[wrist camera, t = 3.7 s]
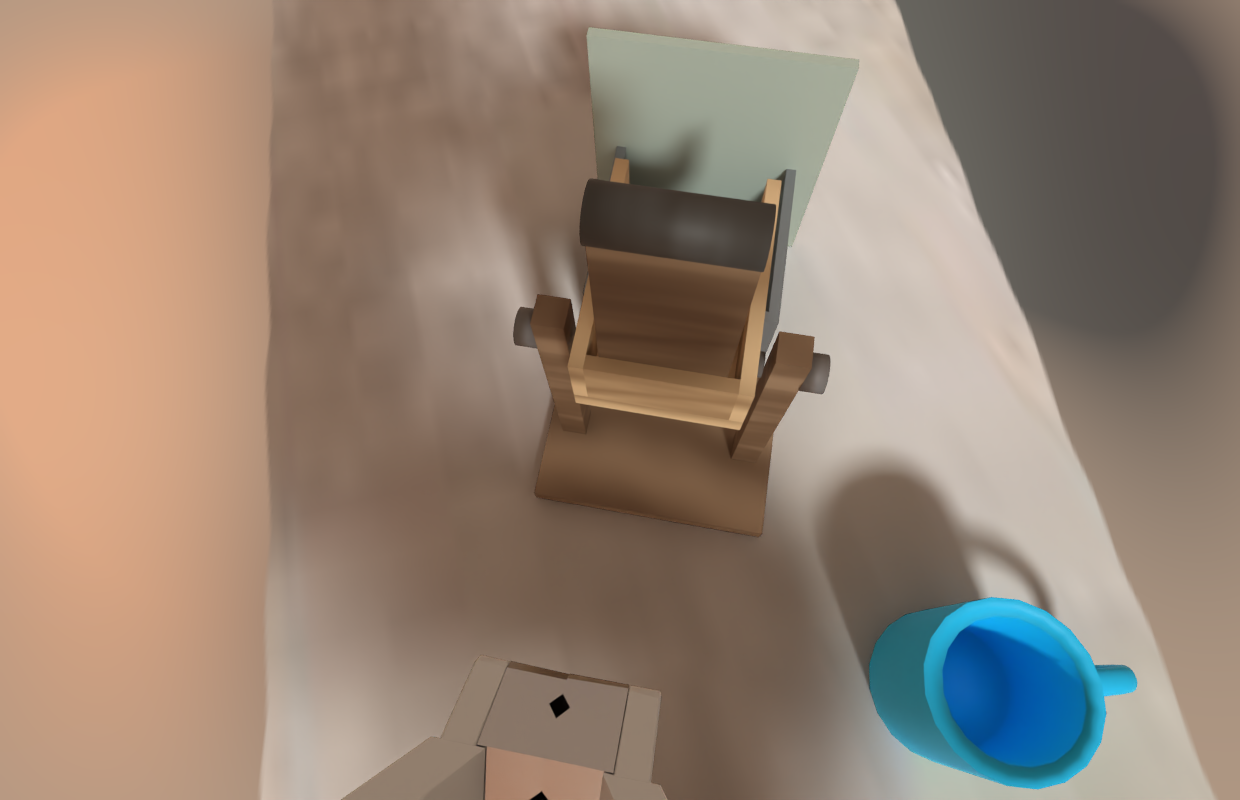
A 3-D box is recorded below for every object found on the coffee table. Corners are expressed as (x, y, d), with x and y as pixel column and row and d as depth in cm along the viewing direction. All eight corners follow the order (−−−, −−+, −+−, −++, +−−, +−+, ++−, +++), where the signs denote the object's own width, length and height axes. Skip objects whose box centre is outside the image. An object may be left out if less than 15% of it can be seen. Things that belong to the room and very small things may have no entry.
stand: (760, 537, 43) (827, 468, 28) (535, 496, 44) (483, 410, 29) (777, 388, 46) (845, 256, 31) (568, 354, 47) (537, 211, 32)
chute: (751, 441, 31) (843, 265, 17) (563, 409, 32) (507, 217, 18) (775, 250, 34) (866, -21, 21) (604, 226, 35) (585, -52, 22)
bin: (776, 381, 46) (843, 246, 31) (571, 348, 48) (541, 203, 33) (792, 239, 50) (859, 59, 35) (602, 212, 51) (588, 26, 36)
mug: (883, 769, 38) (944, 794, 31) (856, 614, 41) (907, 602, 34) (1101, 755, 38) (1217, 778, 31) (1059, 601, 41) (1156, 587, 34)
